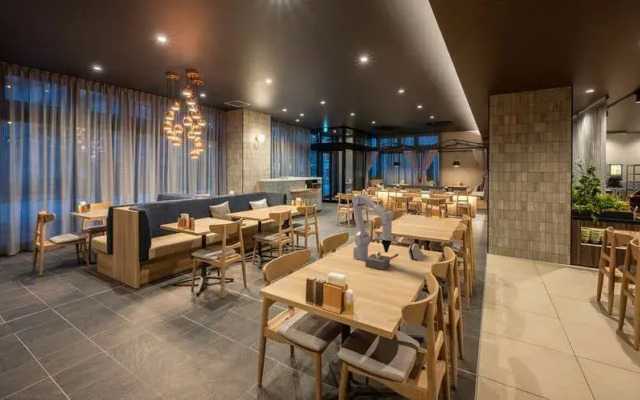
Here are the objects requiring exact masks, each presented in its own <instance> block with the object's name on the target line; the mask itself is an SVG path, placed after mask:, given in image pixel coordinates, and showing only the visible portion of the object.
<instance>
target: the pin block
mask: <svg viewBox="0 0 640 400" xmlns="http://www.w3.org/2000/svg"><path fill="white" fill-rule="evenodd" d="M390 257H391V256H385V255H381V254H380V259H376V253H375V254H374V253H372V254H370V255H368V258H366V259H365V267H366V268H372V269H377V270H382V271H384V270H386V268H387V267H389V266H390V265H391V260H389V261H387V259H388V258H390Z"/></svg>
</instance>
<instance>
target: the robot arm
mask: <svg viewBox="0 0 640 400" xmlns="http://www.w3.org/2000/svg"><path fill="white" fill-rule="evenodd" d="M351 202H352V209H353V215H354V221H355V226H356V234H355V236H354V238H355V239H354V243H355V245H353V253H352V254H353V256H352V257H353V258H352V259H354V260H359V261H363V262H364V261H365V259H366V258H368V257H369V246H370V244H371V242H372V241H371V238H370V235H369V232H368V231H366V228H365V221H364V217H363V212H362V208H363V207H364V206H365V205H366V206H369V207H370V208H371V209H372V210H373V213H375V214H377V216H379V217H380V220H381V225H382V227H381V236H378V235H376V236H375V237H374V239H375V240H376V241H377V240H378V241H381V245H382V247H383V250H384V253H388V252H389V249H390V246H391V244H392V242H393V243H399V238H395V237H393V236H392V231H393V230H392V229H393V227H392V226H393V225H392V222H393V221H392V220H393V219H394V217H395V215H394V213H393V211H391V210H387V209H386V208H384V207H383V205H382V204H377V203H376V202H374V201H373V200H372V199H371V198H370V195H368V194H365V193H364V194H354V195H353V197H352V198H351Z"/></svg>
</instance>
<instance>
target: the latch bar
mask: <svg viewBox="0 0 640 400" xmlns="http://www.w3.org/2000/svg"><path fill="white" fill-rule="evenodd" d="M398 256H399V254H398V253H396V254H394V255H392V256H389V257H390V258H388V259H387V261H389V260H390V261H391V260H393V259H395V258H397V257H398Z"/></svg>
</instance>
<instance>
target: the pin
mask: <svg viewBox="0 0 640 400" xmlns="http://www.w3.org/2000/svg"><path fill="white" fill-rule="evenodd" d="M375 255H376V259H380V255H381V252H380V251H376V252H375Z"/></svg>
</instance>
